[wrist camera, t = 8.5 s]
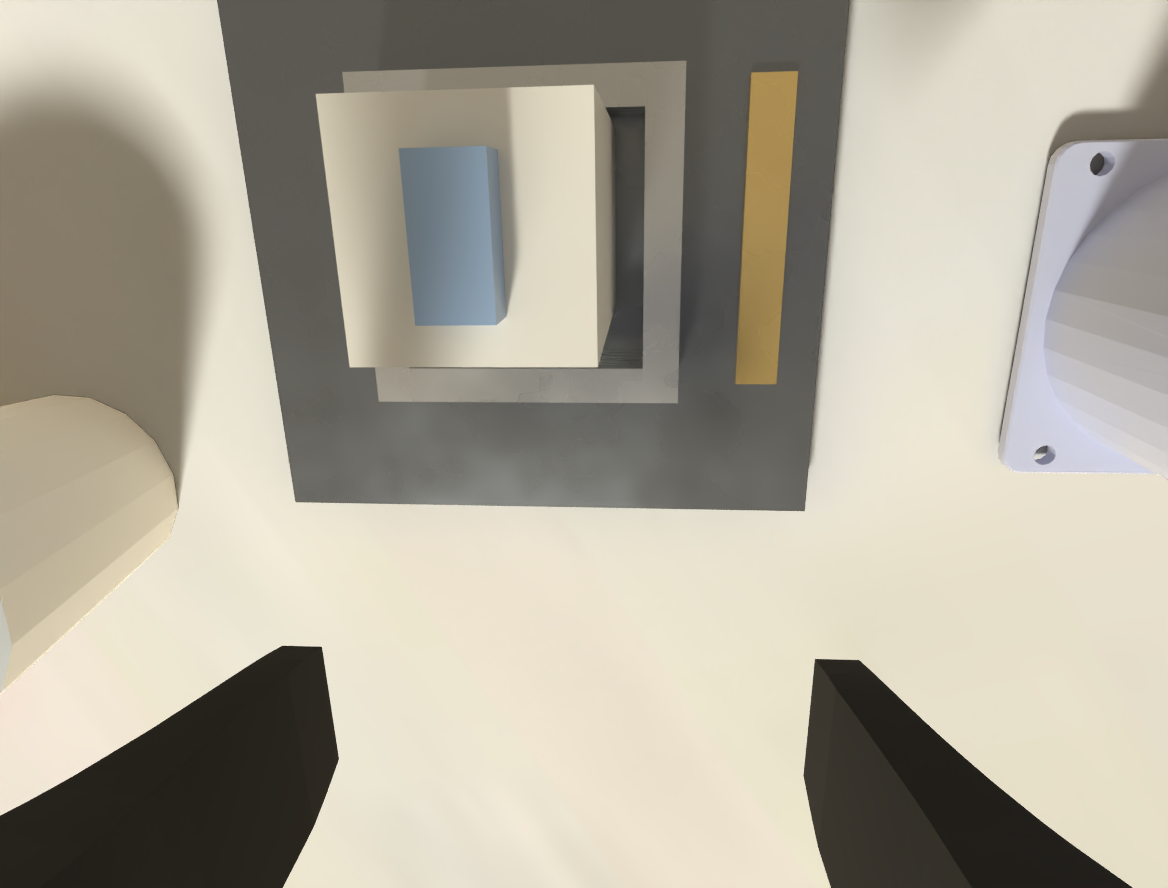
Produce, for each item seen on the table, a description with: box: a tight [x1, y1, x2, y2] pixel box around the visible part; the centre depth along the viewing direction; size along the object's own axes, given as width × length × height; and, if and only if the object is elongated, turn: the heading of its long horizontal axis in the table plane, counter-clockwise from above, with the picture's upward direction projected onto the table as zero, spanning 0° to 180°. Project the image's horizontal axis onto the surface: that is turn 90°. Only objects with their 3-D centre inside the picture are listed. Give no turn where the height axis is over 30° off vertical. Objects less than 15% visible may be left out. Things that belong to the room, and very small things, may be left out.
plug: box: [316, 85, 616, 367], centre depth 14 cm, size 4×4×8 cm
